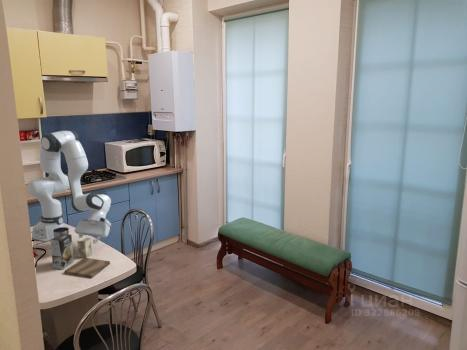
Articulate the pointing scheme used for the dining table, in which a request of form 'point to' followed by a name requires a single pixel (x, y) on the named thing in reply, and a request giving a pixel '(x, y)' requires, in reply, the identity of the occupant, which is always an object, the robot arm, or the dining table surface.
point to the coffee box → (62, 251)
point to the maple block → (84, 247)
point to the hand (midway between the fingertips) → (87, 242)
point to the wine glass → (60, 231)
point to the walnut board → (87, 267)
